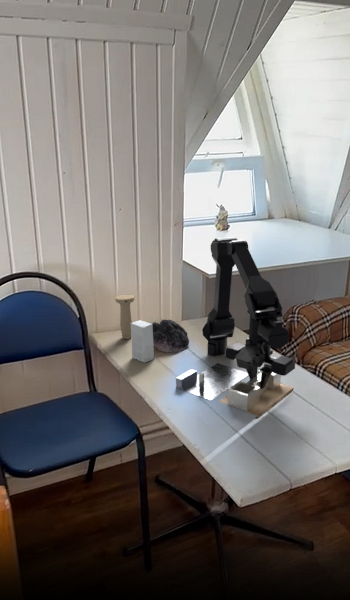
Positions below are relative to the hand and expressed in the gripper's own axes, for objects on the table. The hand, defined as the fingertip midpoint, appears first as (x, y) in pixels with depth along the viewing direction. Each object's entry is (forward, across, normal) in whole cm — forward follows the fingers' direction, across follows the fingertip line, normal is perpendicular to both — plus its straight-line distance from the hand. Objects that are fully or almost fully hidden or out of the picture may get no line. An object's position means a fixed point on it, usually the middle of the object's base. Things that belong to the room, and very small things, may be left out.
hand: (258, 386), depth 150 cm
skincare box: (+3, -42, -1) cm, 42 cm away
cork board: (+3, 0, -1) cm, 3 cm away
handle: (+3, -58, +8) cm, 59 cm away
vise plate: (+3, -14, -1) cm, 14 cm away
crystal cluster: (+4, -42, +12) cm, 44 cm away
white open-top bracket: (+2, 0, -1) cm, 2 cm away
